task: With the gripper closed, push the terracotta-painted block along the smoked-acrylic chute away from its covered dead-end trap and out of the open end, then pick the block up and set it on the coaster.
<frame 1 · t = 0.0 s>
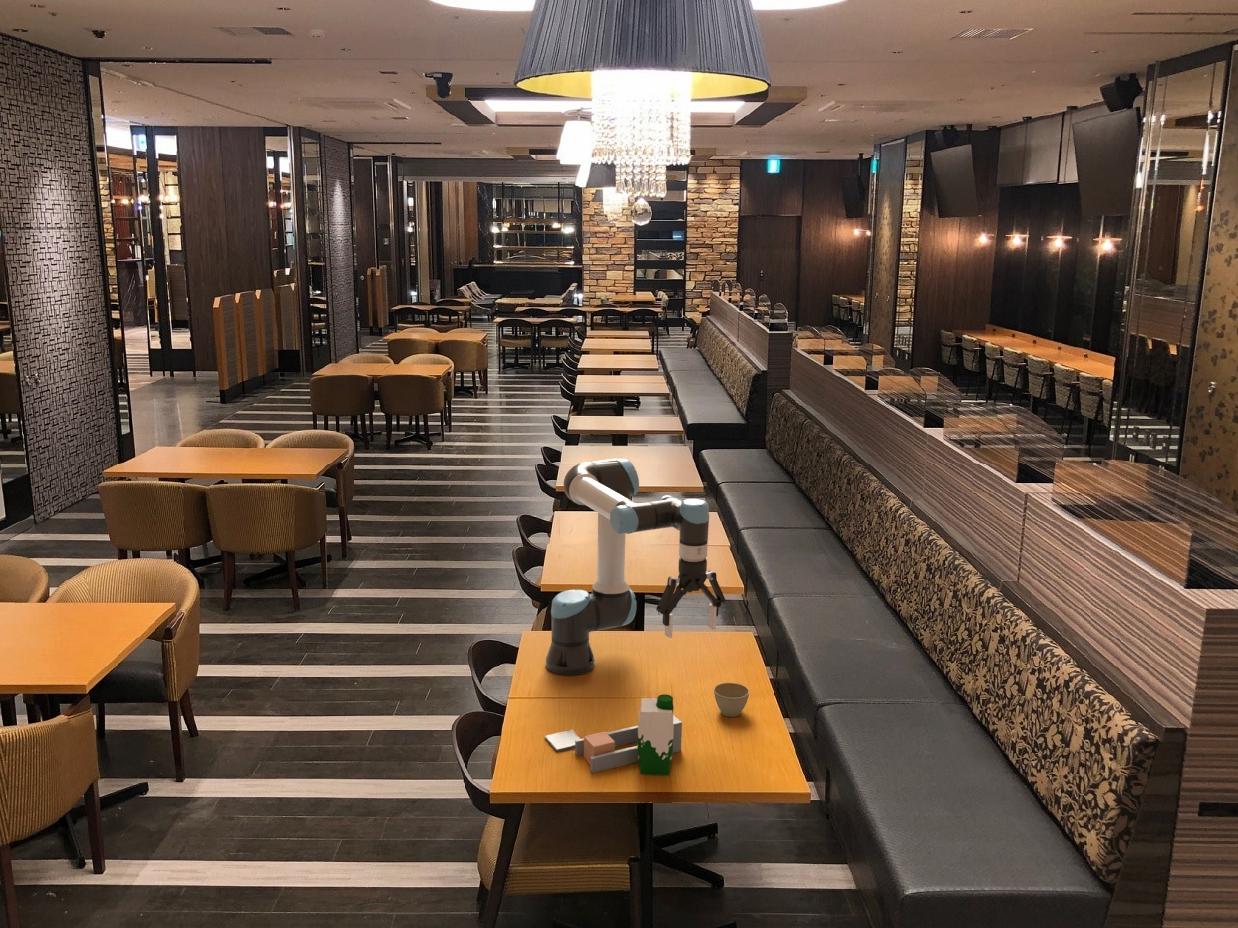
hand: (690, 631, 283), 28 cm above the table, fingers open, 13 cm apart
flower pot: (730, 713, 297), on the table
block: (599, 759, 271), on the table
milk carton: (654, 769, 268), on the table, touching chute
chute: (614, 755, 273), on the table
coaster: (564, 742, 280), on the table
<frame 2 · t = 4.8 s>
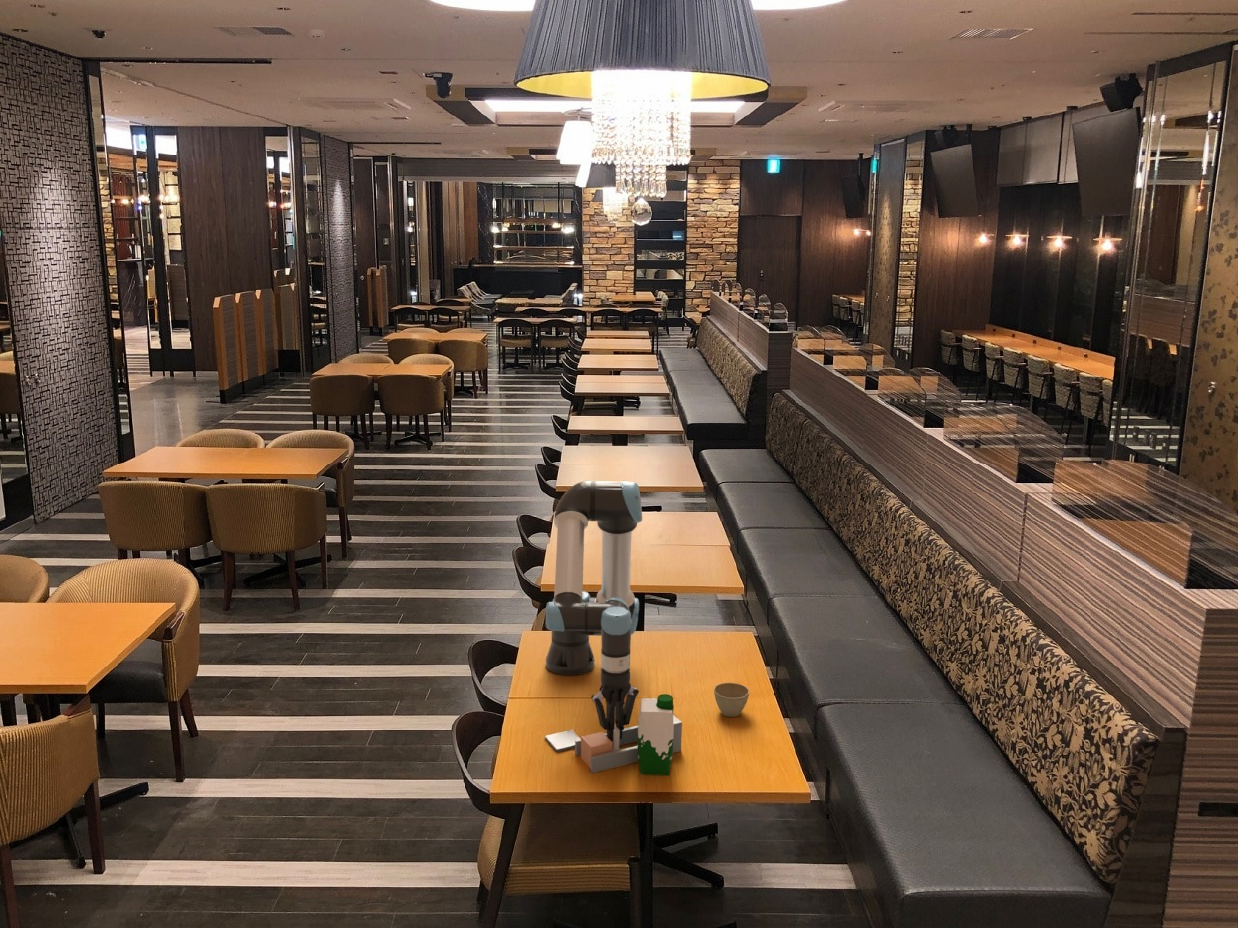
hand: (614, 750, 273), 1 cm above the table, fingers closed
block: (596, 760, 271), on the table, touching gripper
everything else where it was.
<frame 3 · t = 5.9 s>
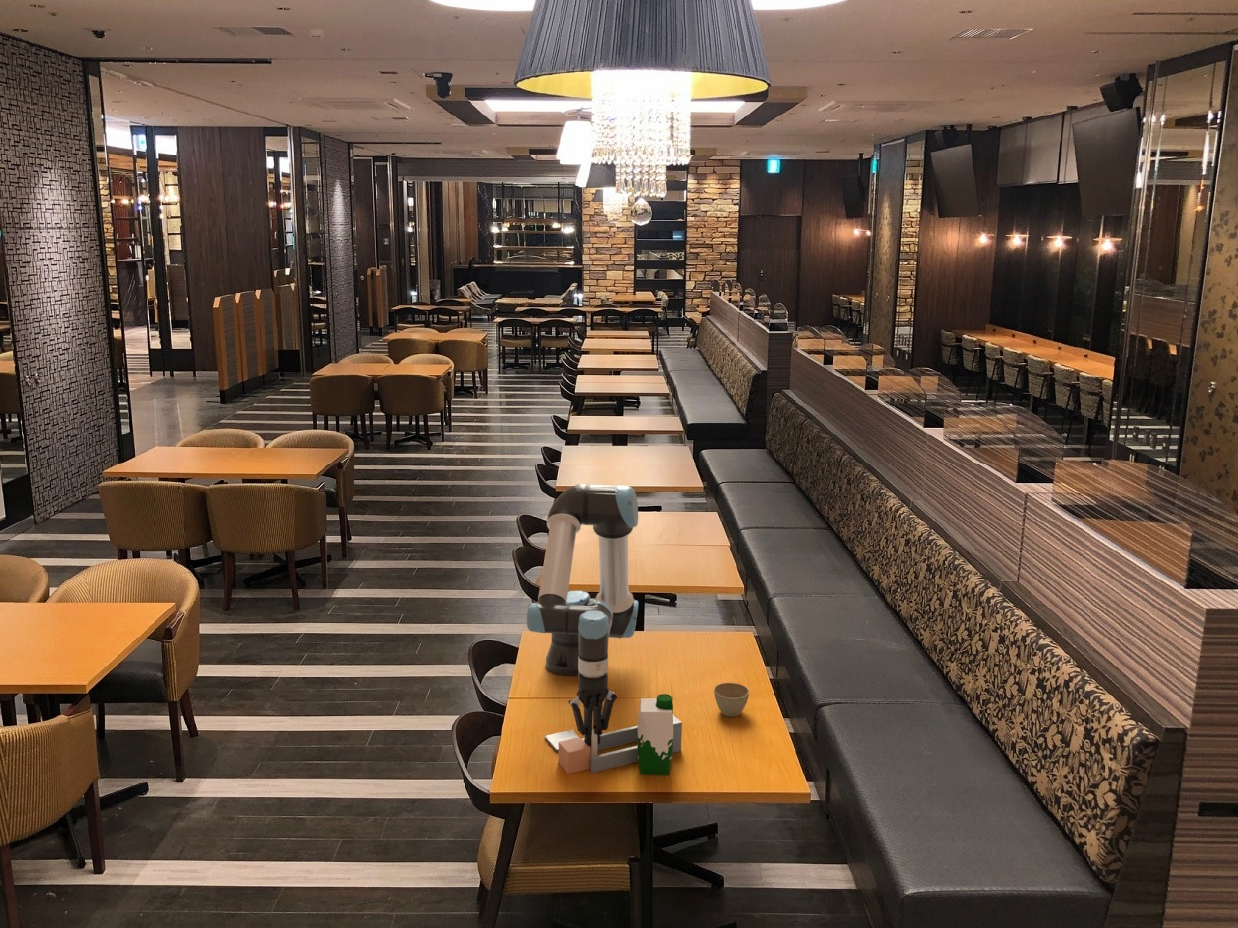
hand: (592, 755, 270), 2 cm above the table, fingers closed
block: (574, 765, 268), on the table, touching gripper
everything else where it was.
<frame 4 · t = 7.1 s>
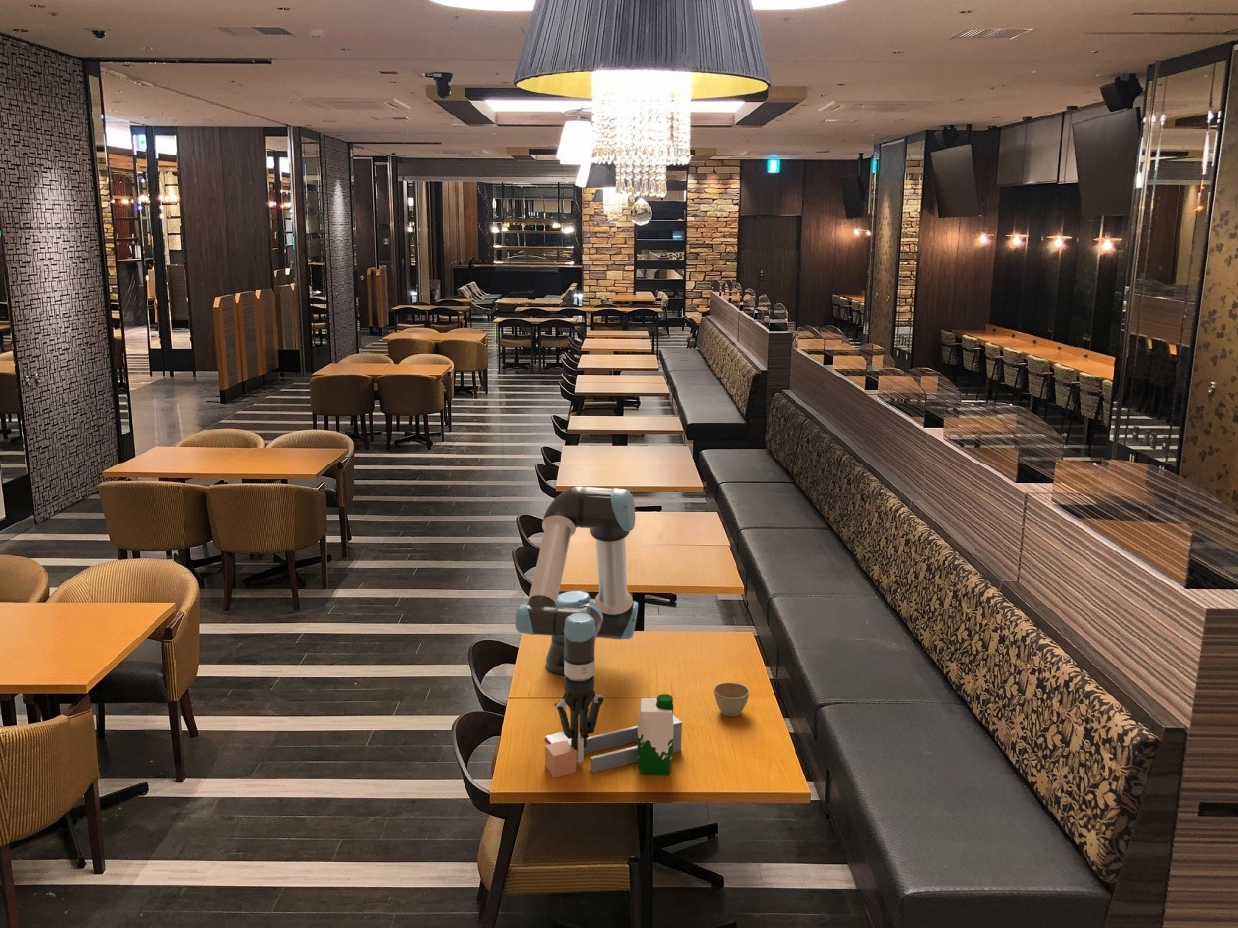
hand: (578, 759, 268), 1 cm above the table, fingers closed
block: (560, 769, 266), on the table, touching gripper
everything else where it was.
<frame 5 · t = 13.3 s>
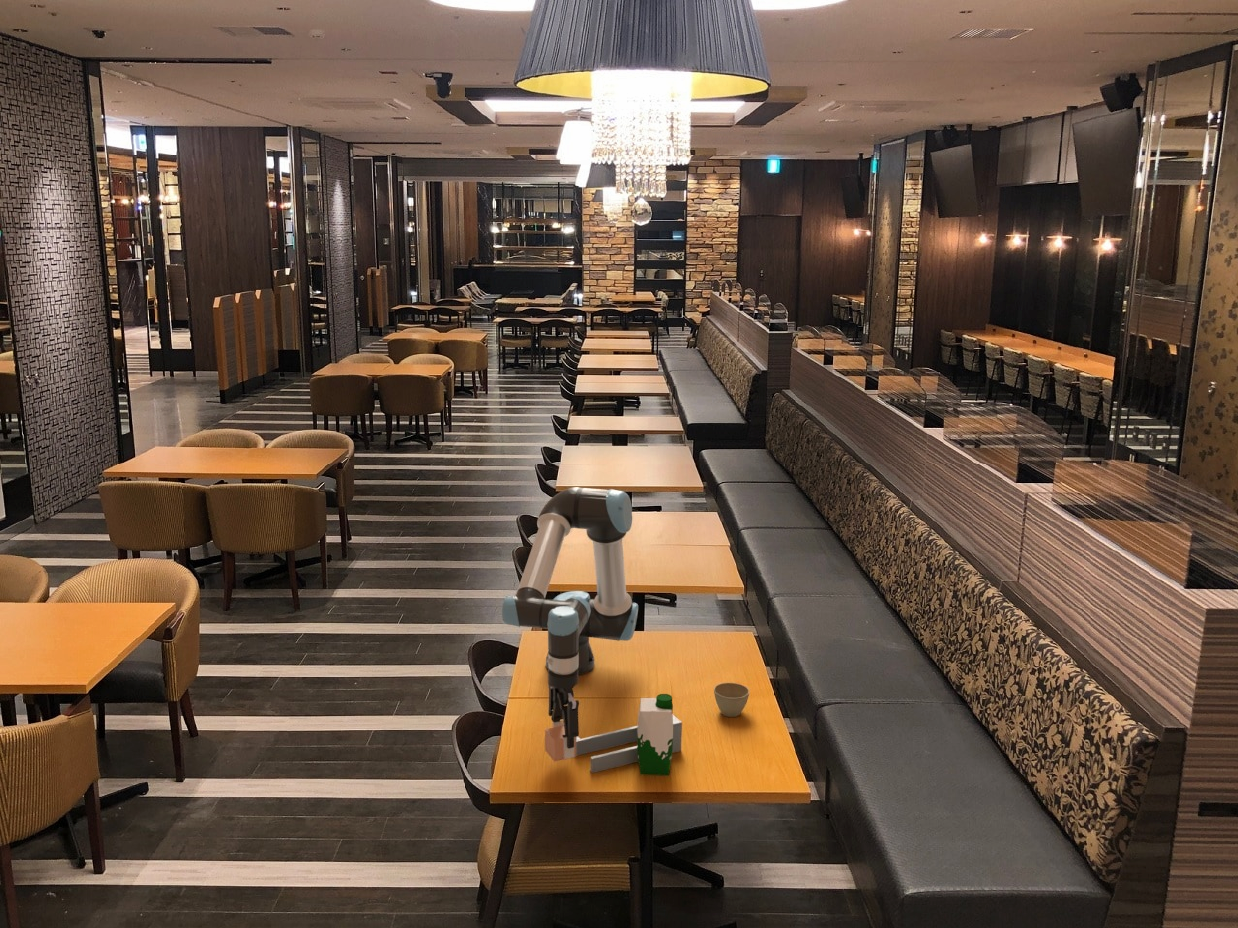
hand: (563, 750, 266), 5 cm above the table, fingers closed on block, 6 cm apart
block: (560, 753, 266), point 4 cm above the table, touching gripper
everything else where it was.
when the fingers open (1 cm above the table, at t = 16.9 s): block stays where it is, resting on coaster.
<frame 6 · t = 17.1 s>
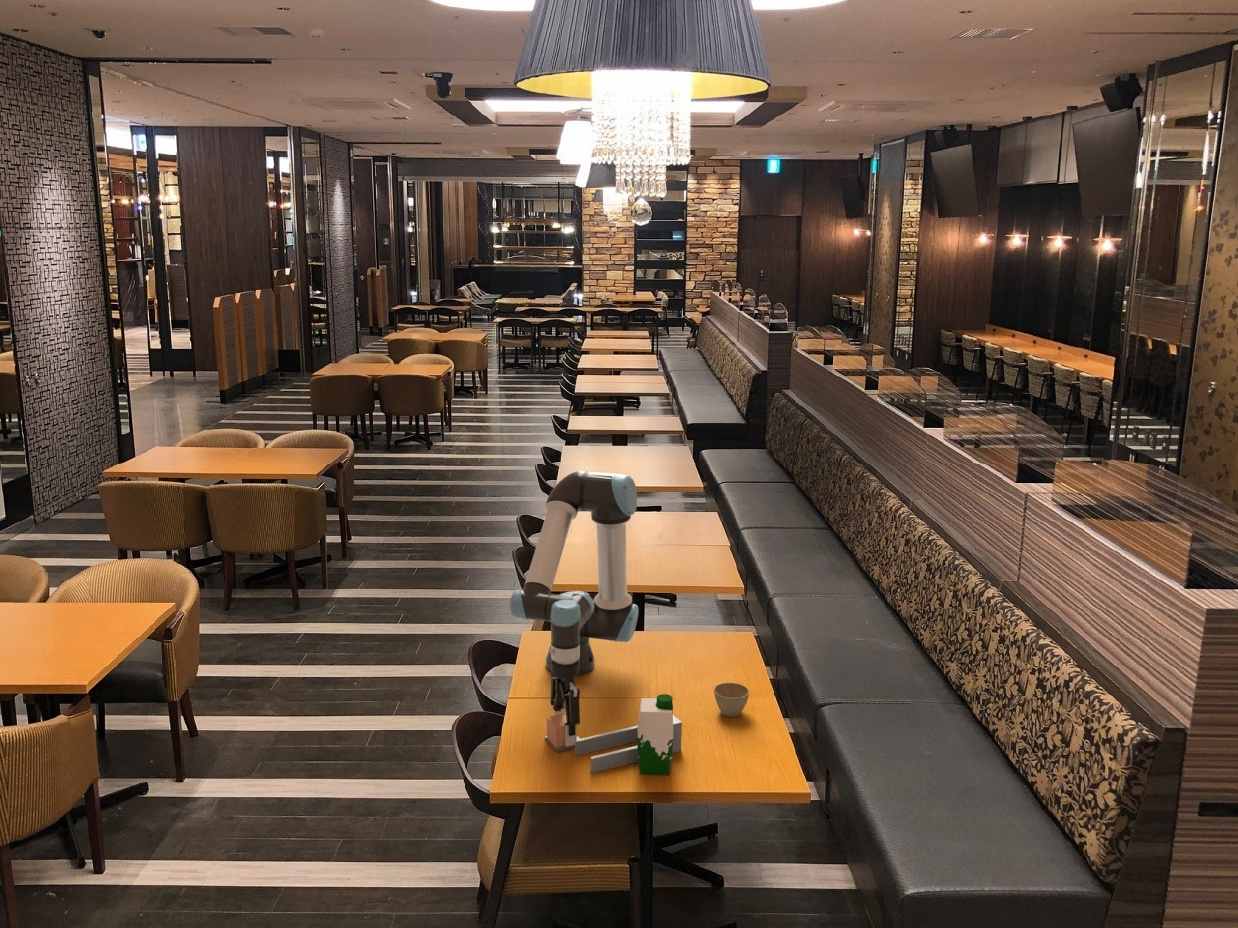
hand: (564, 738, 279), 1 cm above the table, fingers open, 6 cm apart
block: (561, 740, 279), point 1 cm above the table, touching coaster, gripper
everything else where it was.
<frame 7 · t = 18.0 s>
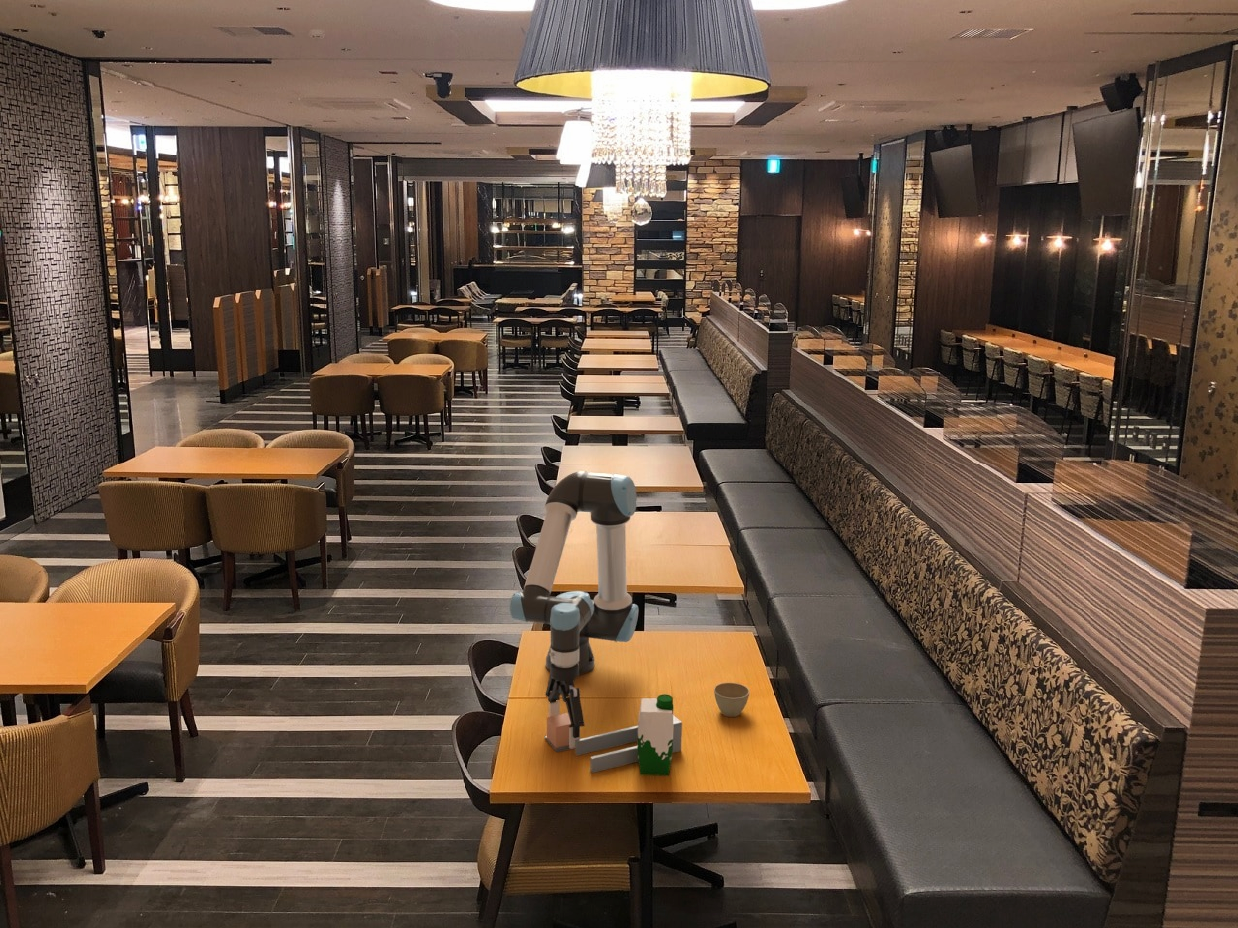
hand: (564, 735, 279), 2 cm above the table, fingers open, 13 cm apart
block: (561, 740, 279), point 1 cm above the table, touching coaster
everything else where it was.
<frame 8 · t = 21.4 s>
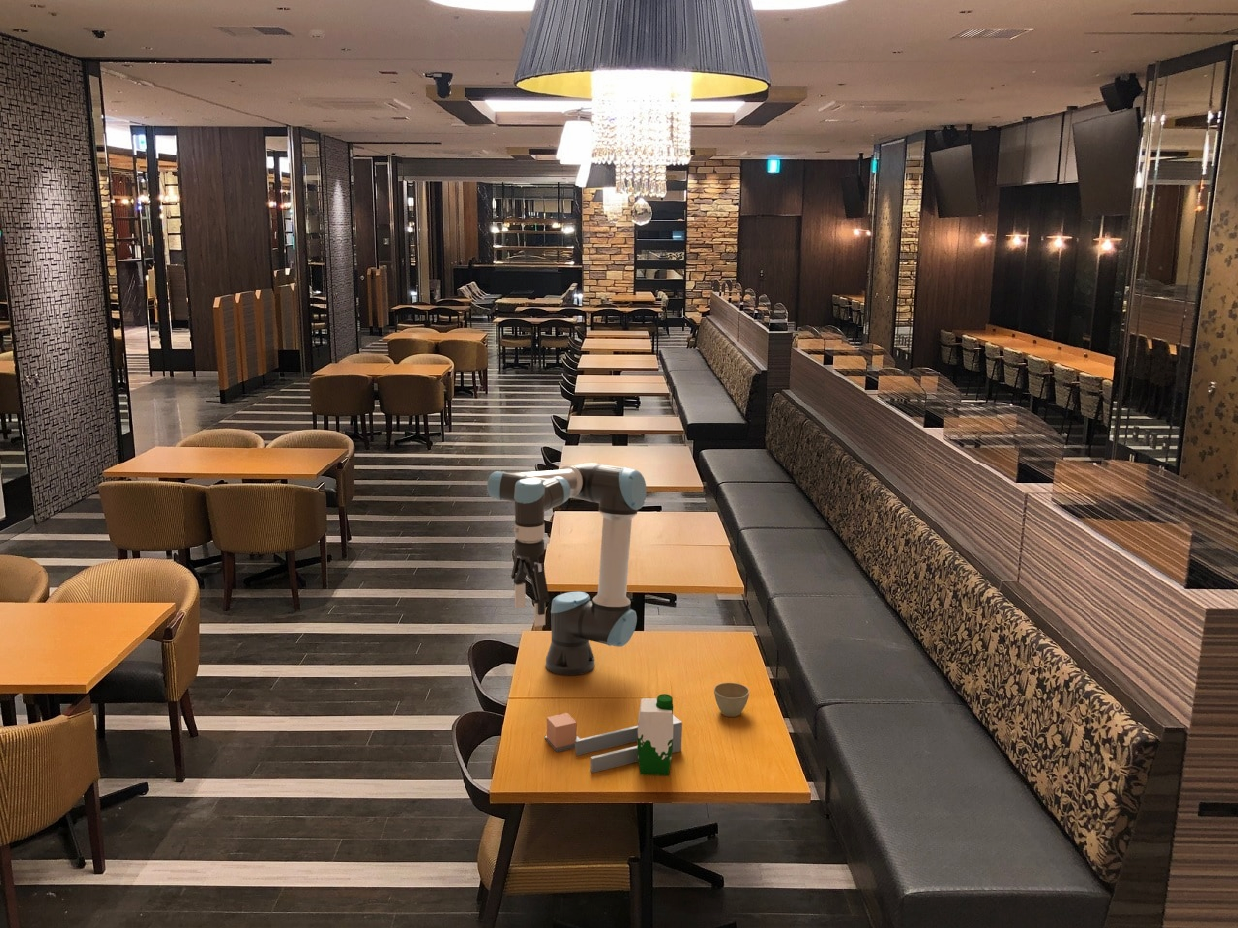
hand: (529, 615, 274), 35 cm above the table, fingers open, 13 cm apart
nothing on the table moved.
at the end: block inside the target area on the coaster (0.9 cm from its centre), point 0.8 cm above the coaster's base; block tilted 0°; the gripper is holding nothing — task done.
